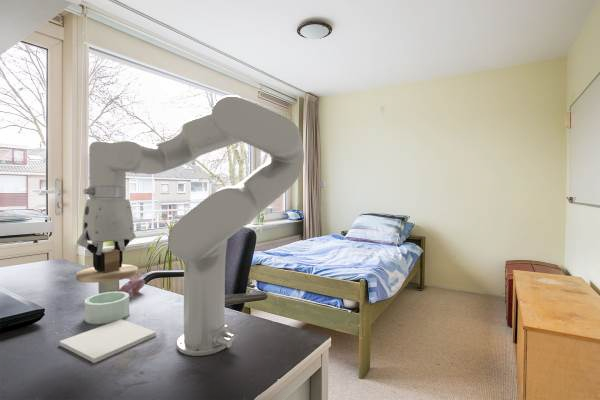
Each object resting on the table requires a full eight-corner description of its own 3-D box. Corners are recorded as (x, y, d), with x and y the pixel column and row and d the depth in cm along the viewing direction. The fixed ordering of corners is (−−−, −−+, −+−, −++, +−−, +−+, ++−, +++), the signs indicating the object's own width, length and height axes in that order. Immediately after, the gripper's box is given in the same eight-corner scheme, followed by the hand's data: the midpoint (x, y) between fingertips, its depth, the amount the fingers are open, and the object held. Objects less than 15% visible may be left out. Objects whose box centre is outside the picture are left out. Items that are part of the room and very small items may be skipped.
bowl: (137, 313, 96) (136, 295, 95) (98, 327, 86) (98, 307, 86) (115, 306, 101) (115, 289, 101) (77, 318, 91) (76, 299, 91)
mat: (156, 335, 82) (156, 331, 82) (94, 363, 69) (94, 358, 69) (121, 322, 89) (121, 319, 89) (59, 345, 76) (59, 341, 76)
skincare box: (119, 294, 113) (119, 259, 112) (106, 297, 109) (106, 262, 108) (110, 290, 116) (110, 257, 116) (97, 294, 112) (96, 259, 112)
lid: (149, 272, 81) (149, 249, 81) (94, 286, 70) (94, 258, 69) (118, 265, 87) (118, 243, 87) (64, 276, 76) (64, 251, 76)
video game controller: (122, 305, 107) (130, 287, 106) (111, 298, 107) (119, 280, 107) (142, 295, 116) (149, 278, 116) (132, 288, 117) (139, 272, 116)
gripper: (78, 194, 69) (79, 279, 69) (148, 193, 83) (148, 264, 84) (61, 193, 72) (62, 273, 73) (131, 192, 87) (131, 260, 87)
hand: (108, 267), depth 78 cm, fingers closed on lid, 3 cm apart
